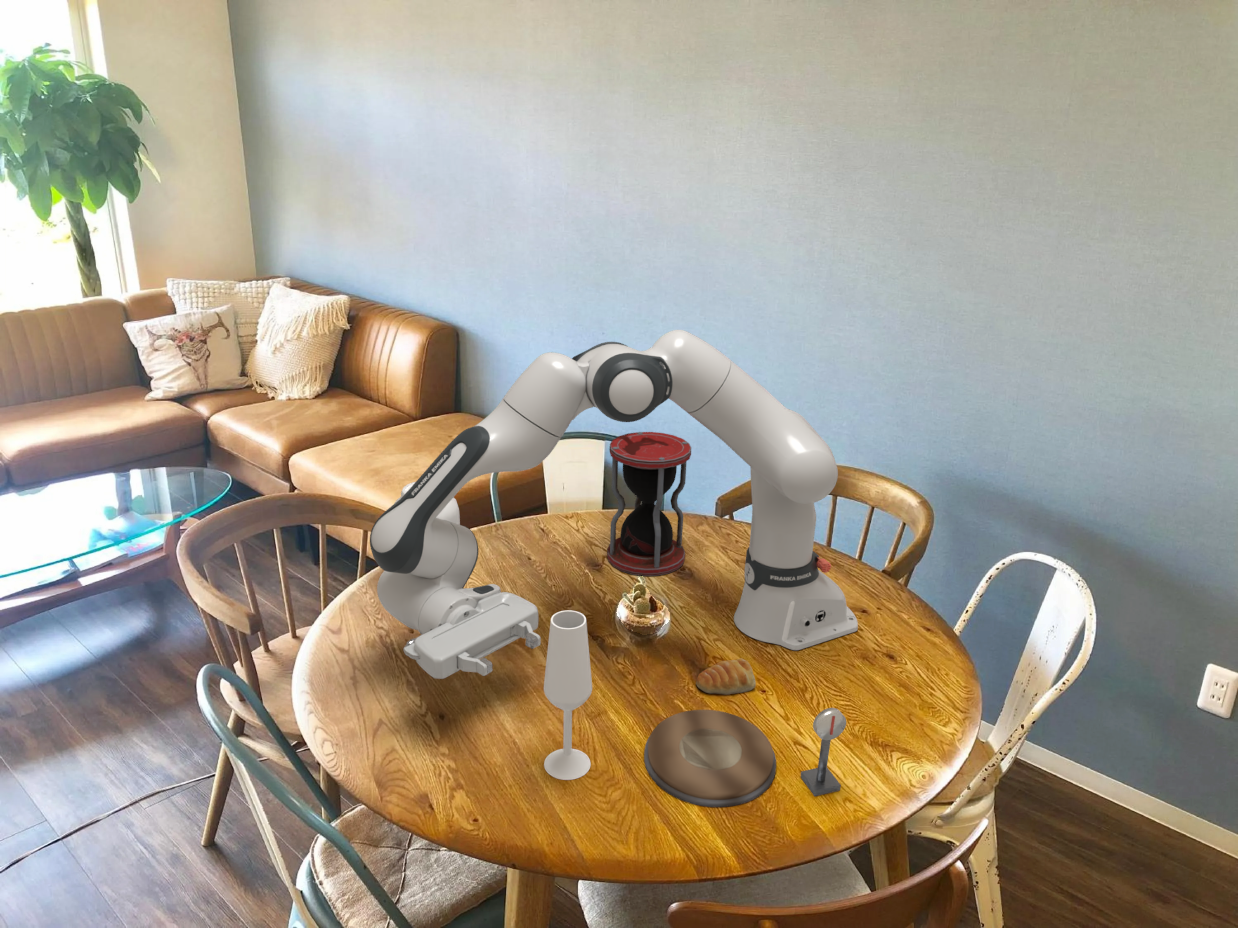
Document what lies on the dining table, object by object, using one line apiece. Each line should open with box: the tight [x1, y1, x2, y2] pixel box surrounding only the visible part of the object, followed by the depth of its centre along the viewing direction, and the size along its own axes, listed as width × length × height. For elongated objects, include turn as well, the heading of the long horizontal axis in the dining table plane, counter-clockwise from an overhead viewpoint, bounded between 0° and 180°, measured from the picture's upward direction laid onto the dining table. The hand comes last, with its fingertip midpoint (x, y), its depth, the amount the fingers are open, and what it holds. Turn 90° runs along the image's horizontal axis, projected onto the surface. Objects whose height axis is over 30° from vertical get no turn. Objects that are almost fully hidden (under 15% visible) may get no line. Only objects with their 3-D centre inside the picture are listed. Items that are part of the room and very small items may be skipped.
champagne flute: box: [543, 609, 593, 781], centre depth 127 cm, size 7×7×24 cm
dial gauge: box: [800, 707, 847, 797], centre depth 127 cm, size 4×4×13 cm
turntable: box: [643, 709, 777, 808], centre depth 133 cm, size 19×19×2 cm
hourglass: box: [606, 431, 692, 577], centre depth 186 cm, size 16×16×25 cm
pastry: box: [695, 657, 757, 696], centre depth 150 cm, size 9×7×4 cm
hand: (513, 655), depth 134 cm, fingers open, 8 cm apart
